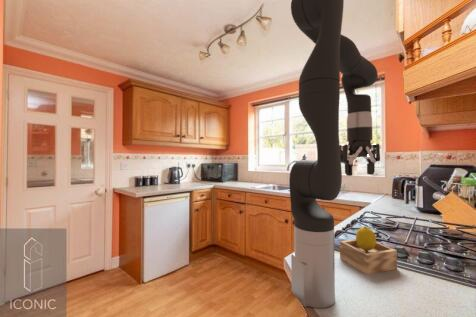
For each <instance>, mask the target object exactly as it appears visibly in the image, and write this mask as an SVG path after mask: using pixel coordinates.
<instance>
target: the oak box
mask: <svg viewBox="0 0 476 317" xmlns="http://www.w3.org/2000/svg"><path fill="white" fill-rule="evenodd" d="M339 259H341V261H344V262H345V263H347V264H348V265H350V266H352V267H354V268H355V269H356V270H358V271H360V272H362V273H364V274H365V275H373V274H377V273H383V272H387V271H394V270H397V269H398V250H397V249H395V248H392V247H391V246H388V245H385V244H383V243H380V242H378V241H376V245H375V247H374V248H373V249H372V250H369V251H368V252H365V251H364V250H363V249H361V248H360V247H359V246H358V244H357V242H356V238H355V239H354V238H353V239H348V240H347V239H346V240H340V241H339Z"/></svg>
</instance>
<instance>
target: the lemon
mask: <svg viewBox="0 0 476 317" xmlns="http://www.w3.org/2000/svg"><path fill="white" fill-rule="evenodd" d="M376 237H377V236H376V234H375V232H374V231H373V230H372V229H371V228H369V227H367V226H366V225H365V226H363V227H361V228H359V229H358V230H357V231H356V234H355V239H356V242H357V244H358V246H359V247H360V248H361V249H363V250H364V251H365V252H368V251H369V250H372V249H373V248H374V247H375V245H376V242H377V239H376Z"/></svg>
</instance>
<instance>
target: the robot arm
mask: <svg viewBox="0 0 476 317" xmlns="http://www.w3.org/2000/svg"><path fill="white" fill-rule="evenodd" d="M290 12H291V16H292V19H293V22H294V23H295V25H296V26H297V28H298V29H299V30H300V31H301V32H302V33H303V34H304V35H305V36H306V37H307V38H308V39H309V40H310V41H312V42H313V43H314V47H313V50H312V51H311V53H310V55H309V56H308V59H307V61H306V62H305V64H304V66H303V68H302V70H301V72H300V76H299V78H298V108H299V110H300V112H301V115H302V117H303V119H304V120H305V122H306V123H307V125H308V126H309V128H310V130H311V132H312V134H313V136H314V139H315V143H316V152H317V153H316V154H317V156H316V159H302V160H301V159H300V160H297V161H296V162H294V163H293V165H292V167H291V169H290V173H289V182H288V184H289V196H290V197H289V198H290V199H289V200H290V211H291V212H290V213H291V215H292V217H293V224H294V225H293V228H294V230H293V232H294V234H293V235H294V237H293V238H294V241H293V242H294V245H293V247H294V253H293V254H291V255H290V256H291V257H290V260H291V261H290V263H291V264H290V265H291V266H290V268H291V293H292V294H293V295H294V296H295V297H296V299H297V301H299V302H300V304H301V305H302V306H303V307H311V308H314V309H315V308H317V309H325V308H329V307H331V306H333V305H334V303H335V301H336V300H335V299H336V290H335V289H336V286H335V284H336V281H335V280H336V278H335V274H336V272H335V270H336V268H335V218H334V216H333V215H332V213H330V212H328V210H326V209H324V208H323V207H322V206H321V205H320V204H319V203H318V200H321V201H334V200H335V199H337V198H338V196H339V194H340V192H341V188H342V179H343V173H342V171H343V170H342V164H344V173H345V175H346V176H348V177H349V176H350V177H351V176H353V162H354V160H356V159H357V158H363V159H365V161H366V162H367V163H366V173H367V175H374V173H375V171H376V169H375V166H376V165H375V164H376V163H377V162H380V161H381V151H380V150H381V149H380V144H379V143H372V142H371V141H373V116H372V97H371V96H370V95H369V94H366V93H363V94H362V93H356V90H357V89H362V88H367V87H370V86H373V85H374V84H375V83H376V81H377V79H378V74H379V73H378V69H377V67H376V66H375V65H374V64H373V62H371V61H370V60H368V59H367V58H365V57H364V56H363V55H362V54H361V52H360V51H359V48H358V47H357V45H356V44H355V42H354V41H353V40H352V39H351V38H349V37H348V36H346V35H343V34H342V26H343V15H344V0H291V2H290ZM340 73H341V74H340ZM340 75H341V77H340ZM340 83H341V84H340ZM340 86H342V88H343V91H344V94H345V99H346V102H347V103H346V105H347V118H346V138H347V139H346V140H347V142H348V144H347V143H345V144H340V127H339V125H340V124H339V123H340V121H339V120H340V97H341V96H340V93H341V92H340V90H341V87H340Z"/></svg>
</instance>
